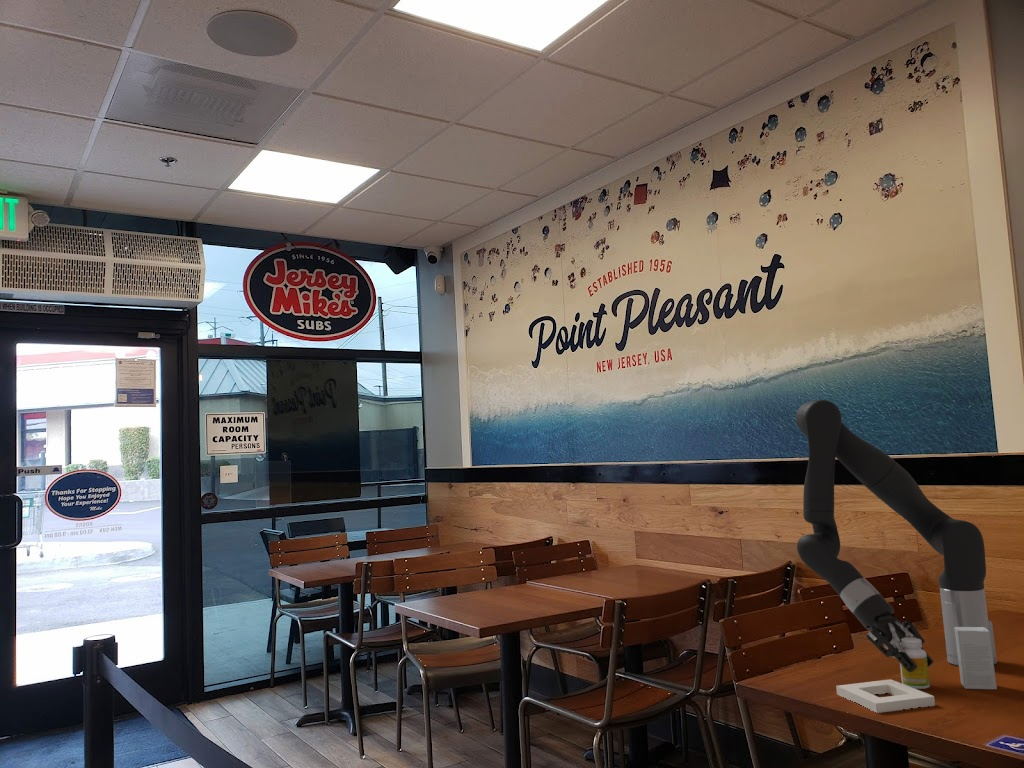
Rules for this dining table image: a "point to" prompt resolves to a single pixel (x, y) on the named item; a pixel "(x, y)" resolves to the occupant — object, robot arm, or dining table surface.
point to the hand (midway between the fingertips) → (921, 667)
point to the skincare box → (975, 658)
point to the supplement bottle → (919, 657)
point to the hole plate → (901, 699)
